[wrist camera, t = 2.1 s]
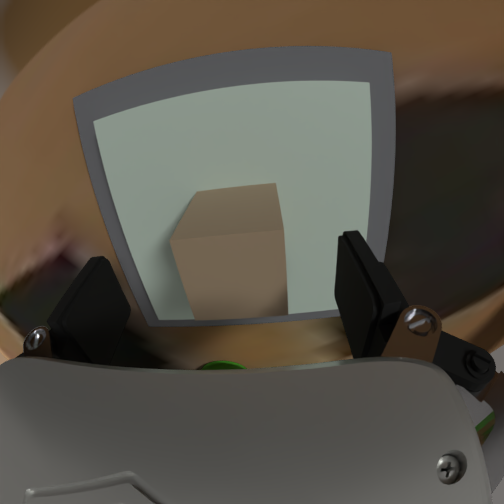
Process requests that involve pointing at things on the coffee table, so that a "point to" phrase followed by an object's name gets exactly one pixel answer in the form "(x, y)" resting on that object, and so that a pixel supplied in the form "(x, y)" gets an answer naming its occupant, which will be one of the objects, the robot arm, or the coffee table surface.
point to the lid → (241, 194)
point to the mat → (235, 74)
